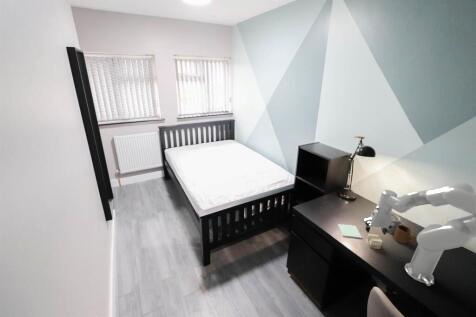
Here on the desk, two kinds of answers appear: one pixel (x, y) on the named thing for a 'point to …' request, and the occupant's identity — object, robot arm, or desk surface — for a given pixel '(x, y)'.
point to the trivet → (349, 231)
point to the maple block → (374, 241)
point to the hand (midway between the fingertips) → (375, 232)
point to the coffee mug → (396, 221)
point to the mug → (403, 234)
